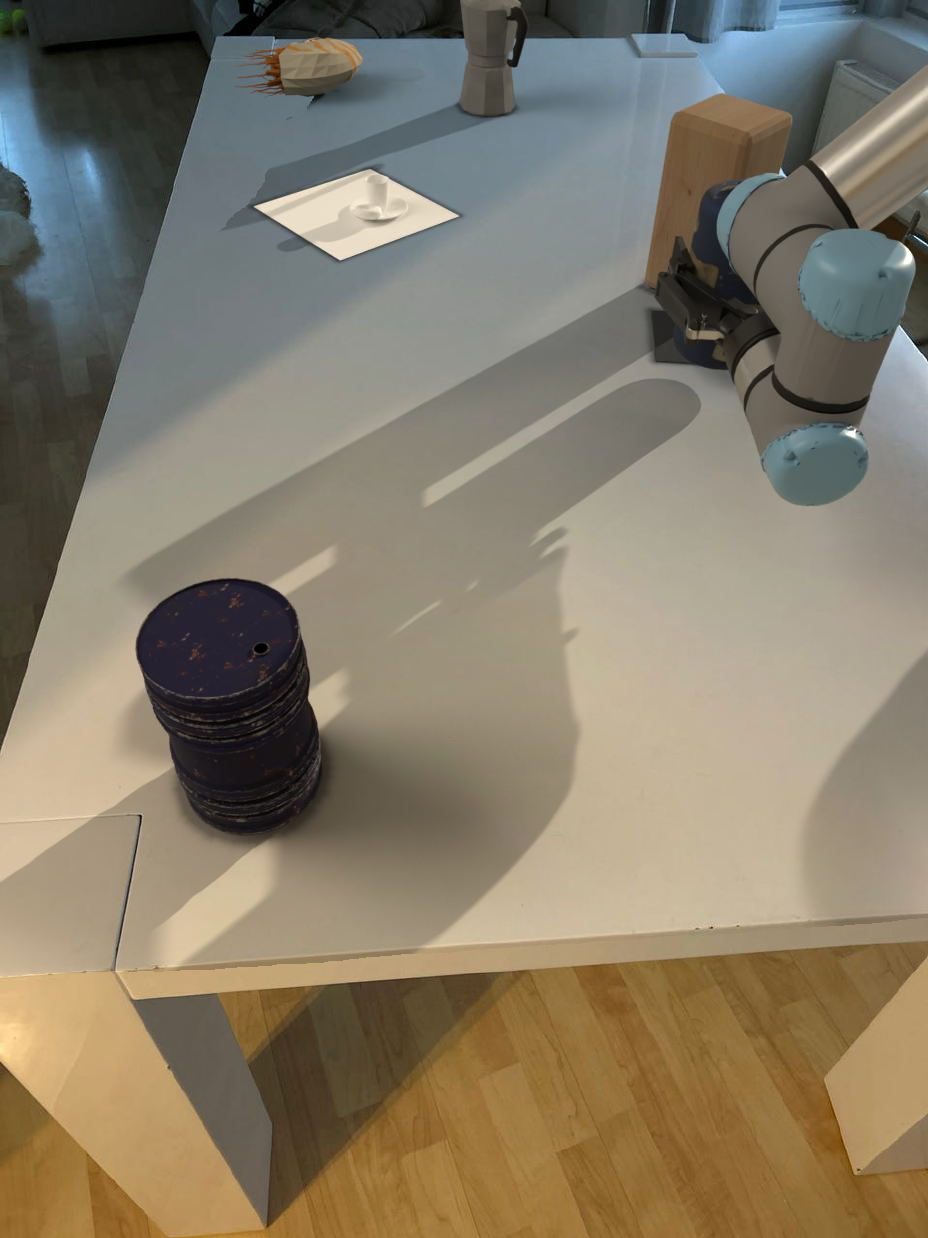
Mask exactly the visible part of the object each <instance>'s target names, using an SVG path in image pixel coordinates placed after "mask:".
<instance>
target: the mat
mask: <svg viewBox="0 0 928 1238" xmlns="http://www.w3.org/2000/svg"><path fill="white" fill-rule="evenodd" d="M650 316H651V323H652V335H653V344H654V355H655V362H657V363H672V364H673V363H675V364H689V365H691V364H692V365H695V364H694V363H692V362H690V361H688V360H687V359H685V358H684V357H683V356H682V355H681V354H680V353H679V352H678V351H677V349H676V347H675V344H674V340H673V335H674V328H675V323H674V321H673V320H672V319H671V318H670V316H669V315H668V314H667V313H666V311H665V310H653V309H652V310H651V311H650Z"/></svg>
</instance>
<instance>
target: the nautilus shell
mask: <svg viewBox="0 0 928 1238" xmlns="http://www.w3.org/2000/svg"><path fill="white" fill-rule="evenodd" d="M272 52H274V53H275V54H273V53H272ZM262 53H271V54H266V55H264V54H262ZM242 57H245V58H249V61H252V60H262V59H265V60H264V61H260V62H254V63H253V62H251V63H242V64H236V65H233V68H234V67H242V66H261V65H265V66H263V70H265V69H266V68H267V67H268V66H270V69H267V70H265V72H264V73H262V74H252V75H246V76H237V77H236V78H237V79H247V78H254V77H256V78H257V77H258V78H261V77H262V78H263V79H264V80H266V81H267V82H263V83H258V84H252V85H242V86H240V85H238V86H234V87H235V88H253V91H251V92H249V93H248V94H249V95H250V94H253V93H256V92H258V93H261V94H267V96H264V97H263V99H265V98H268V97H272V96H275V95H283V94H284V95H285V96H301V97H306V98H309V97H315V96H319V95H322V94H325V93H328V92H331V91H333V90H335V89H337V88H339V87H340V86H342V85H344V84H345V83H347V82H349V81H350V80H352V79H353V78H354V76H355V75H356V74H357V72H358V70H359V68H360V66H361V65H362V62H363V59H364V58H363V56H362V55H361V53H359V51H358V49H357V48H356V47H355V45H353V44H351V43H348V42H346V41H344V40H340V39H337V38H331V37H325V38H322V37H320V36H317V37H311V38H308V39H306V40H303V41H299V42H295V41H294V42H291V43H289V44H287V45H286V46H283V47H276V48H274V49H268V50H267V49H262V50H259V49H256V52H252V53H250V54H249V55H242ZM253 57H254V58H253ZM265 76H266V77H272V78H273V79H267V78H266V77H265ZM257 88H259V89H260V90H259V89H257ZM262 88H263V89H262ZM268 90H276V91H268Z"/></svg>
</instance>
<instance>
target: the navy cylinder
mask: <svg viewBox="0 0 928 1238" xmlns="http://www.w3.org/2000/svg"><path fill="white" fill-rule="evenodd" d="M134 649H135V657H136V661H137V663H138V666H139V669H140V671H141V674H142V677H143V683H144V688H145V690H146V695H147V696H148V698H149V701H150V704H151V707H152V710H153V713H154V715H155V718H156V719H157V721H158V723H159V725H161V727H162V728H163V730H164V732H166V733H167V735H168V737H169V738H168V745H169V751H170V756H171V760H172V763H173V765H174V770H175V773H176V775H177V778H178V780H179V783H180V786H181V788H182V789H183V790H184V792H185V796H186V798H187V801H188V803H189V806H190V808H191V809H192V810H193V812H194V813H195V814H196V816H197V817H198V818H199V819H200V820H202V822H203V823H205V824H207V825H208V826H209V827H211V828H214V829H215V830H218V831H220V832H224V833H228V834H232V835H239V836H240V835H241V836H242V835H245V836H246V835H257V834H264V833H267V832H270V831H273V830H276V829H278V828H281V827H283V826H285V825H287V824H289V823H290V822H292V821H294V820H295V819H296V818H297V817H298V816H300V815H302V814H303V812H304V811H306V809H307V808H308V807H309V806H310V805H311V804H312V802H313V801H314V799H315V798H316V796H317V794H318V792H319V790H320V787H321V783H322V780H323V771H324V770H323V769H324V768H323V759H322V754H321V753H322V744H321V736H320V730H319V723H318V720H317V717H316V713H315V711H314V709H313V706H312V703H311V702H310V700H309V696H310V695H309V694H310V687H311V674H310V668H309V665H308V657H307V651H306V650H307V649H306V646H305V643H304V640H303V637H302V632H301V625H300V619H299V616H298V613H297V610H296V608H295V607H294V605H293V604H292V602H291V601H290V600H289V599H288V598H287V596H285V595H284V594H283V593H282V592H280V591H279V590H278V589H276V588H274V587H272V586H270V585H268V584H265V583H263V582H260V581H257V580H252V579H249V578H241V577H240V578H239V577H222V578H214V579H208V580H204V581H199V582H196V583H193V584H190V585H187V586H185V587H182V588H181V589H178V590H176V591H175V592H174V593H173V592H172V593H171V594H170V595H168V596H167V597H165V598H164V599H162V600H161V601H160V602H159V603H157V604H156V605H155V607H153V608H152V610H151V611H150V612H149V613H148V614H147V615H146V617H145V618H144V619H143V621H142V623H141V625H140V626H139V629H138V632H137V634H136V638H135V648H134Z"/></svg>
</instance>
